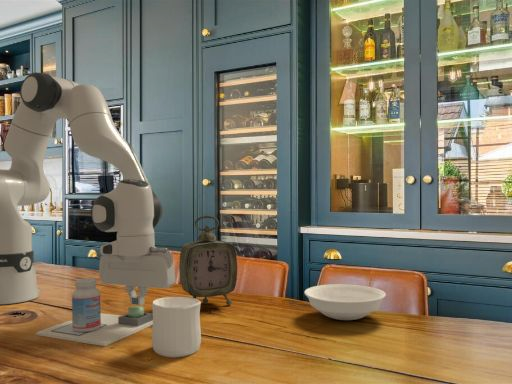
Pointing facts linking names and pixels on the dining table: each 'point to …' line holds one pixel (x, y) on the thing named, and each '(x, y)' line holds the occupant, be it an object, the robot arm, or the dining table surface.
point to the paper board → (94, 331)
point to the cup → (176, 326)
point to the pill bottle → (86, 306)
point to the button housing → (135, 319)
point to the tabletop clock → (208, 266)
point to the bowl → (345, 300)
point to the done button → (135, 311)
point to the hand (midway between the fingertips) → (137, 304)
